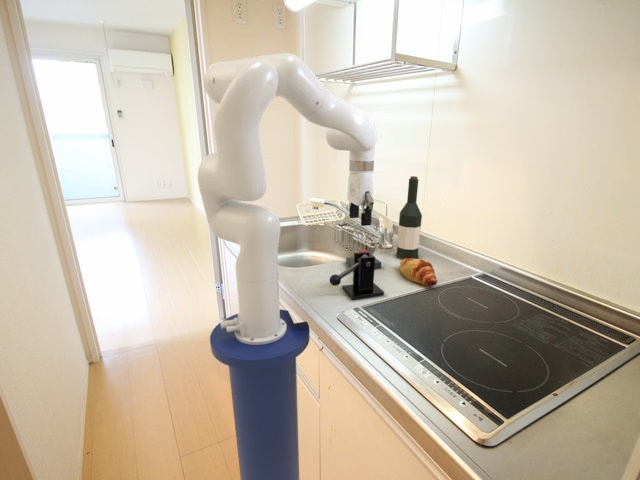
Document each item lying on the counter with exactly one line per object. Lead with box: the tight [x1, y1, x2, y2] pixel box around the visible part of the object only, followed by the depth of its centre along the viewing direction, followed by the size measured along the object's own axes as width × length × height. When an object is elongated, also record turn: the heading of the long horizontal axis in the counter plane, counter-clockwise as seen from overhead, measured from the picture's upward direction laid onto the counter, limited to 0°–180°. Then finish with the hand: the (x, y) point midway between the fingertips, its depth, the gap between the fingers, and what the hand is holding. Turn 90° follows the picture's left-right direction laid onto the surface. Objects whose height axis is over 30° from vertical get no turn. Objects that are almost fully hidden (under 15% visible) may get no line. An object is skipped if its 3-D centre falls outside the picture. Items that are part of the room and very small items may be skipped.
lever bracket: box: [341, 251, 385, 301], centre depth 105 cm, size 10×8×12 cm
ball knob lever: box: [329, 254, 368, 287], centre depth 103 cm, size 13×3×3 cm, turn 112°
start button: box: [358, 249, 370, 253], centre depth 126 cm, size 4×4×2 cm
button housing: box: [345, 252, 382, 270], centre depth 127 cm, size 10×8×4 cm
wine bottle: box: [396, 175, 423, 261], centre depth 133 cm, size 8×8×30 cm
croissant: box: [399, 258, 438, 287], centre depth 118 cm, size 21×10×8 cm, turn 21°
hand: (359, 221), depth 116 cm, fingers open, 9 cm apart
